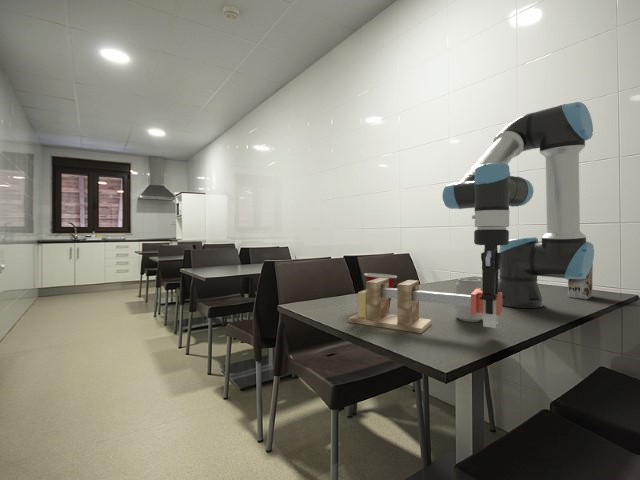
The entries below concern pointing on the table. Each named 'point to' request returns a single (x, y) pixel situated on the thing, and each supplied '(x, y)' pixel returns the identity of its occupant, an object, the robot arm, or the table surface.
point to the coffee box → (581, 286)
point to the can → (467, 288)
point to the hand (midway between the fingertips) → (490, 324)
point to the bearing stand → (380, 307)
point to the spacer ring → (362, 304)
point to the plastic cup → (374, 276)
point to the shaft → (449, 298)
